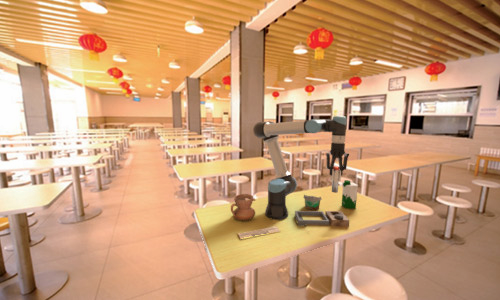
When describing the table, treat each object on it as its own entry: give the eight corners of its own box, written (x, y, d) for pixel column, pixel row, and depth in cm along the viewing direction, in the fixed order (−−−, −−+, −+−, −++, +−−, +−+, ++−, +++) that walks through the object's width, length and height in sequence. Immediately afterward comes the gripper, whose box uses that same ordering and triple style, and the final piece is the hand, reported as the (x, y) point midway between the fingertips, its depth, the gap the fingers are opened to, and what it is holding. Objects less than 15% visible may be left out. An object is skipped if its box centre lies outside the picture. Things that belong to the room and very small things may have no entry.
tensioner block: (331, 227, 123) (332, 217, 122) (325, 218, 135) (325, 208, 134) (348, 228, 123) (349, 217, 122) (340, 218, 135) (341, 208, 134)
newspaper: (275, 228, 125) (275, 225, 124) (281, 234, 118) (281, 231, 118) (237, 235, 116) (237, 232, 116) (241, 242, 110) (241, 239, 110)
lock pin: (332, 192, 127) (334, 167, 125) (330, 190, 131) (332, 166, 128) (338, 192, 127) (340, 167, 125) (336, 190, 130) (338, 166, 128)
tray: (298, 225, 125) (298, 220, 125) (294, 216, 138) (295, 211, 138) (329, 226, 125) (329, 221, 124) (322, 216, 138) (322, 211, 137)
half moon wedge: (301, 210, 147) (301, 196, 146) (303, 206, 153) (303, 193, 151) (319, 213, 142) (320, 199, 140) (321, 210, 147) (321, 196, 146)
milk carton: (339, 205, 155) (341, 179, 152) (352, 205, 155) (353, 179, 152) (344, 210, 147) (346, 182, 144) (357, 210, 147) (360, 182, 144)
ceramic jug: (250, 210, 147) (249, 191, 145) (261, 218, 134) (260, 197, 132) (226, 216, 138) (225, 196, 136) (236, 226, 126) (235, 203, 124)
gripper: (326, 143, 121) (323, 182, 124) (355, 143, 120) (351, 182, 124) (322, 141, 128) (319, 178, 132) (349, 141, 128) (346, 179, 131)
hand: (335, 180), depth 128 cm, fingers closed on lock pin, 4 cm apart
